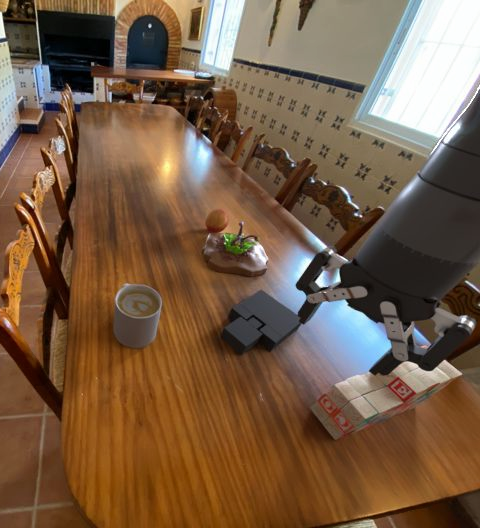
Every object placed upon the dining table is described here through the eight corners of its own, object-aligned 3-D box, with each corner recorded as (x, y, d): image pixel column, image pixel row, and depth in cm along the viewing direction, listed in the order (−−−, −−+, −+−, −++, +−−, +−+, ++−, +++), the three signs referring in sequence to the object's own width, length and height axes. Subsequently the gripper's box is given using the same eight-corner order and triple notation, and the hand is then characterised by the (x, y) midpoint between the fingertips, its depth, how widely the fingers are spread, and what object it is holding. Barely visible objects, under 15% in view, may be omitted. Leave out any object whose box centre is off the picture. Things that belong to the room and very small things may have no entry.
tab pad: (263, 338, 69) (269, 329, 67) (241, 356, 65) (246, 346, 63) (242, 321, 73) (247, 312, 70) (220, 337, 69) (224, 327, 66)
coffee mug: (160, 346, 65) (167, 316, 59) (115, 350, 64) (117, 320, 58) (148, 302, 76) (153, 272, 69) (110, 304, 74) (111, 274, 68)
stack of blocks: (335, 442, 52) (376, 410, 45) (308, 408, 57) (341, 373, 49) (416, 407, 58) (464, 373, 51) (386, 378, 63) (426, 344, 55)
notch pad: (298, 328, 72) (304, 319, 70) (269, 352, 66) (275, 343, 64) (256, 298, 79) (261, 289, 77) (227, 317, 73) (231, 307, 71)
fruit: (230, 234, 103) (237, 214, 98) (212, 239, 100) (218, 218, 95) (216, 223, 109) (221, 203, 104) (198, 227, 106) (203, 207, 101)
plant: (260, 243, 100) (272, 214, 93) (270, 281, 85) (286, 250, 78) (201, 233, 102) (208, 204, 95) (200, 269, 87) (209, 237, 80)
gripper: (330, 209, 29) (269, 318, 39) (539, 299, 20) (390, 409, 30) (363, 192, 32) (299, 296, 43) (551, 263, 24) (414, 372, 34)
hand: (337, 343), depth 36 cm, fingers open, 8 cm apart
